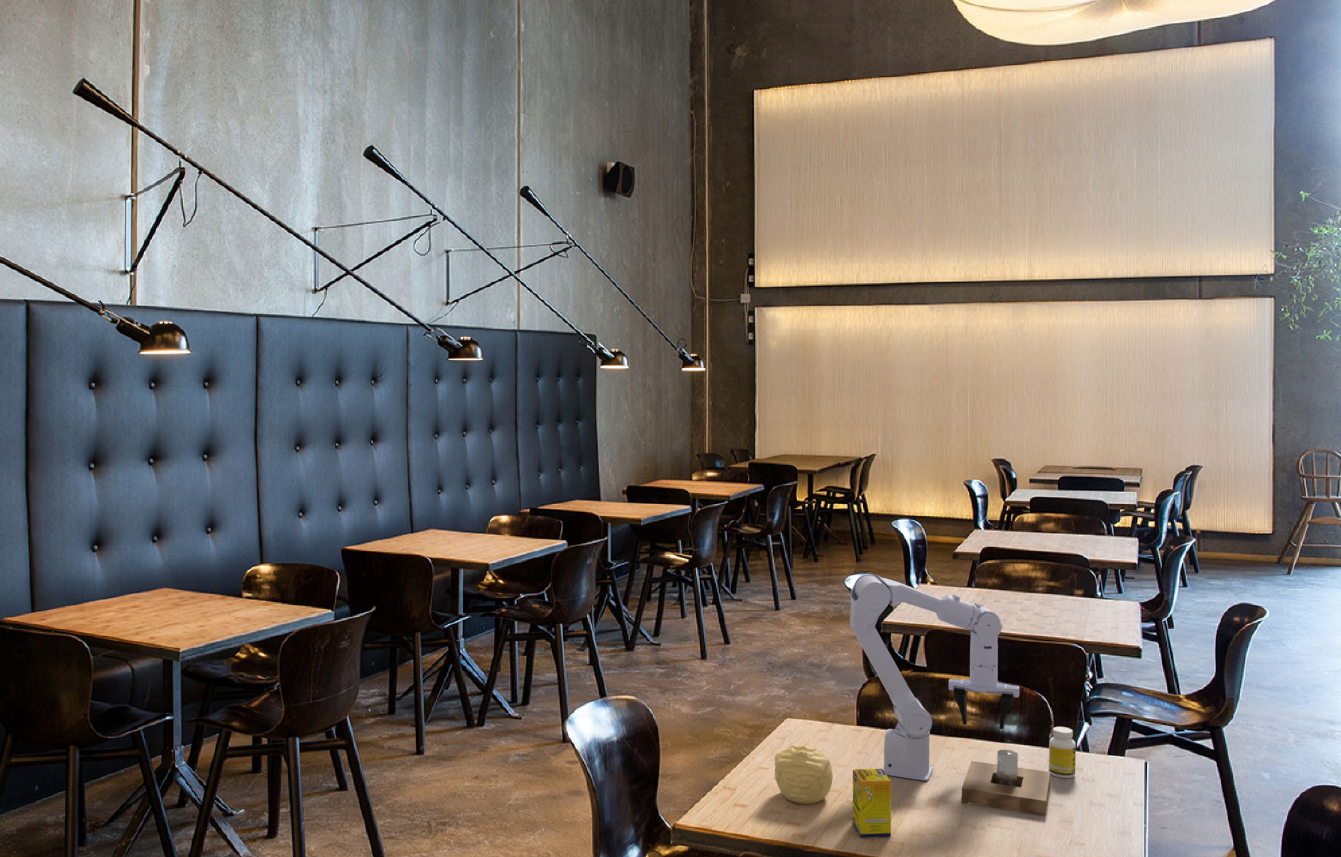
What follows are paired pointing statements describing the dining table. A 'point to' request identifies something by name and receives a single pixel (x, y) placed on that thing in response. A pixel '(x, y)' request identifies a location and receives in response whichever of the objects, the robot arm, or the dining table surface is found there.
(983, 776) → the socket block
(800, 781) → the sculpture
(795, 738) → the dining table surface
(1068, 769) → the supplement bottle
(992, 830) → the dining table surface
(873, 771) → the supplement box
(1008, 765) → the steel pin
